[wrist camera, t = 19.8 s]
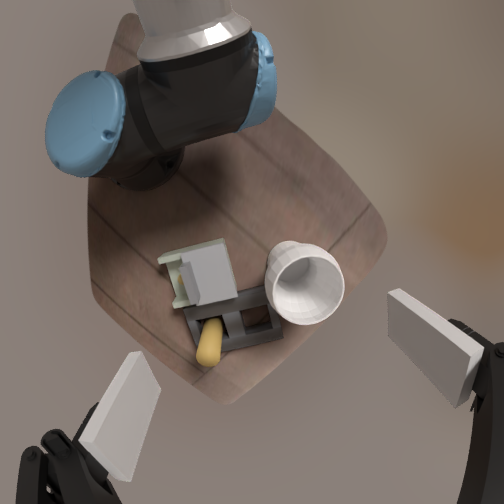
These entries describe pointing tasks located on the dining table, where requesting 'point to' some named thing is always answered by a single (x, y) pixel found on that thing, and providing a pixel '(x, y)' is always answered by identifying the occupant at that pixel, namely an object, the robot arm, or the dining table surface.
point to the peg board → (236, 319)
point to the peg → (210, 342)
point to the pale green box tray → (173, 264)
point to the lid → (207, 275)
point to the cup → (303, 282)
